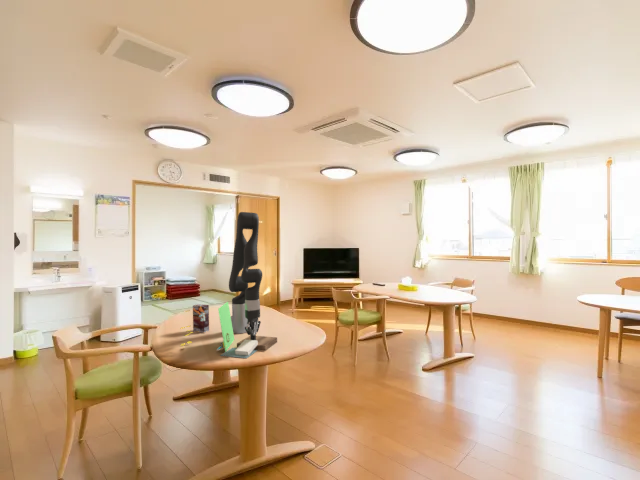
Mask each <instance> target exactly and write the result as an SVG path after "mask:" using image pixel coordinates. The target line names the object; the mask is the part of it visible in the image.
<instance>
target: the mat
mask: <svg viewBox="0 0 640 480" xmlns="http://www.w3.org/2000/svg"><path fill="white" fill-rule="evenodd" d="M236 349H237V347H231V348H230V349H227V351H226V352H225V351H224V352H223V353H221V354H220V355H219V356H220V357H227V358H228V357H230V358H238V359H249V357H250V356H253V354H255V353H257V352H258V351H259V350H253V351H252V352H251V353H250V354H249V355H239V354H235V350H236Z"/></svg>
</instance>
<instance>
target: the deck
mask: <svg viewBox="0 0 640 480" xmlns="http://www.w3.org/2000/svg"><path fill="white" fill-rule="evenodd" d="M244 340H251V336H250V335H248V336H247V337H245V338H243V339H242V340H239V342H237V343H236V348H238V347H239V346H240V345H241V343H242V342H243V341H244ZM256 340H257V341H258V345H257V346H256V347H255V348H254V350H258V351H263V352H266V351H268V350H269V349H270V348H272V346H274V345H276V344H277V343H278V337H275V336H264V335H256Z"/></svg>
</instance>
